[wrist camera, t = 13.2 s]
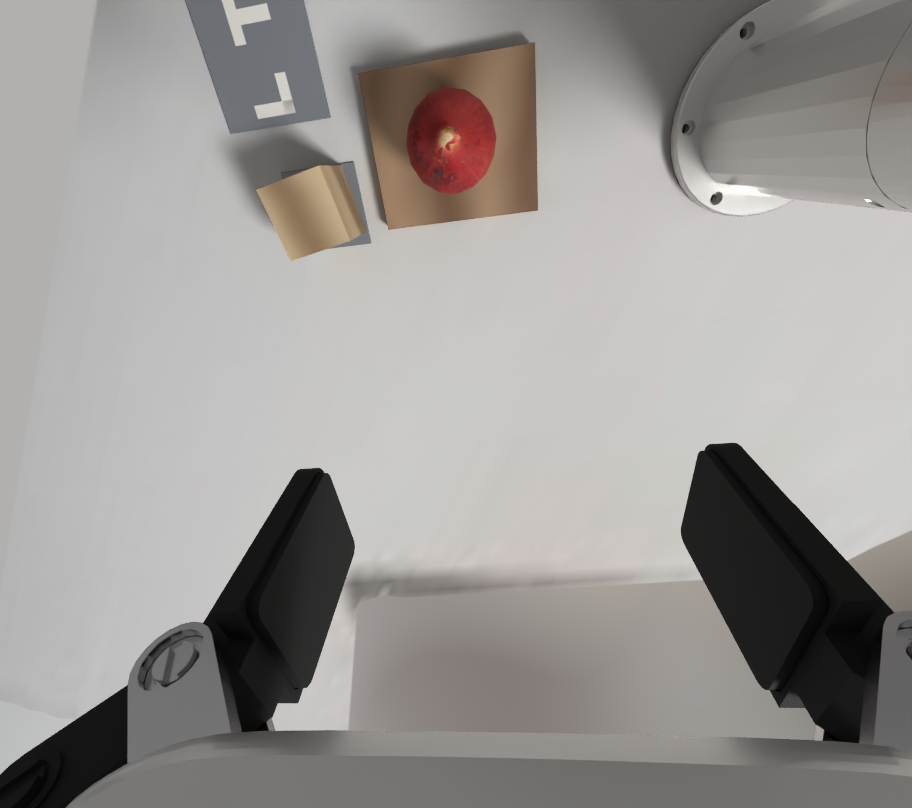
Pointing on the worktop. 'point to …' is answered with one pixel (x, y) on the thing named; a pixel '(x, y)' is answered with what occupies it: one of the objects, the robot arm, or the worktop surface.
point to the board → (514, 116)
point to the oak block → (313, 210)
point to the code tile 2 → (354, 186)
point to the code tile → (261, 61)
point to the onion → (451, 140)
